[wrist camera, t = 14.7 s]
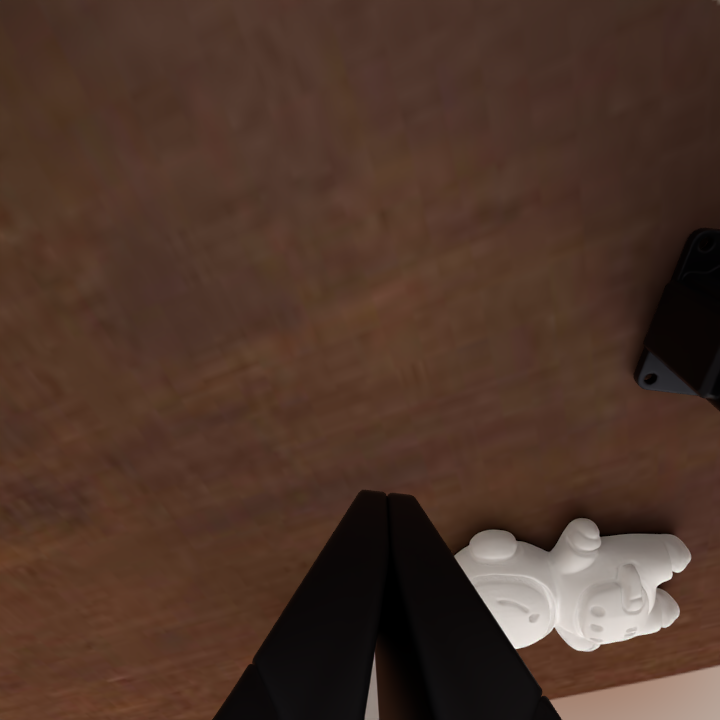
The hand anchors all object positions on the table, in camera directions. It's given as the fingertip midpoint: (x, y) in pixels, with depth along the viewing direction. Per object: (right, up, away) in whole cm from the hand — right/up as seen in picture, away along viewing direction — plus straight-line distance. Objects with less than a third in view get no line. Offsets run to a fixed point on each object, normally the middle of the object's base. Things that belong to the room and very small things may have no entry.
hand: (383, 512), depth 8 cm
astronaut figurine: (+10, -9, +19) cm, 23 cm away
